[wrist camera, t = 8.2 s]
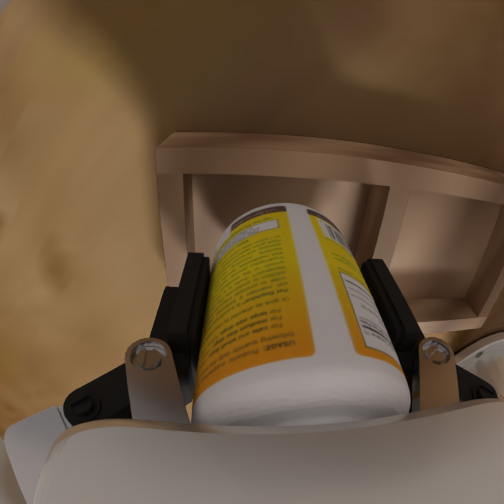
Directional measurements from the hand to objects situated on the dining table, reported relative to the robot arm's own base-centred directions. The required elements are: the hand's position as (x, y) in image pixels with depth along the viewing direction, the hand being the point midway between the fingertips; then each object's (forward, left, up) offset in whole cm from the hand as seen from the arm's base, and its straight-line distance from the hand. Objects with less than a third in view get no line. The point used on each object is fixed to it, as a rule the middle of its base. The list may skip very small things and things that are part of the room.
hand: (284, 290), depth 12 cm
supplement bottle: (0, 0, -2) cm, 2 cm away
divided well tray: (-5, 0, -5) cm, 7 cm away
